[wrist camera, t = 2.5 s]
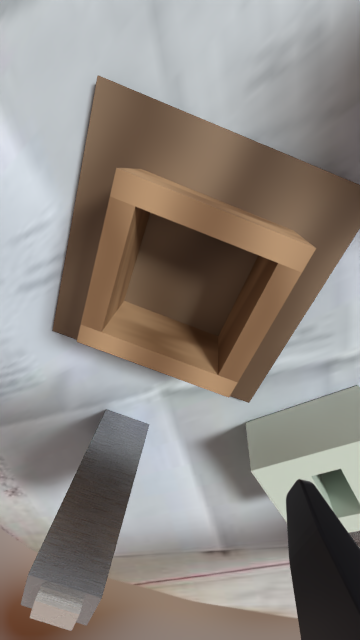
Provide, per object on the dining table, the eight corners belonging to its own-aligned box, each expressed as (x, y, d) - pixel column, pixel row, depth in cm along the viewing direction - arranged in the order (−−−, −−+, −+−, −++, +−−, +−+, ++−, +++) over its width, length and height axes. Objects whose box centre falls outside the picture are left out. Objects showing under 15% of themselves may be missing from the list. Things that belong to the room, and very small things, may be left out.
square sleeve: (377, 193, 16) (436, 201, 12) (248, 398, 24) (255, 451, 19) (101, 78, 15) (53, 40, 11) (55, 327, 23) (16, 365, 18)
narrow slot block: (392, 462, 25) (425, 518, 21) (288, 488, 28) (299, 541, 24) (357, 385, 22) (389, 432, 18) (245, 422, 25) (250, 470, 21)
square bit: (149, 424, 26) (97, 613, 15) (136, 452, 28) (82, 639, 17) (106, 409, 26) (21, 589, 15) (96, 438, 28) (14, 618, 17)
